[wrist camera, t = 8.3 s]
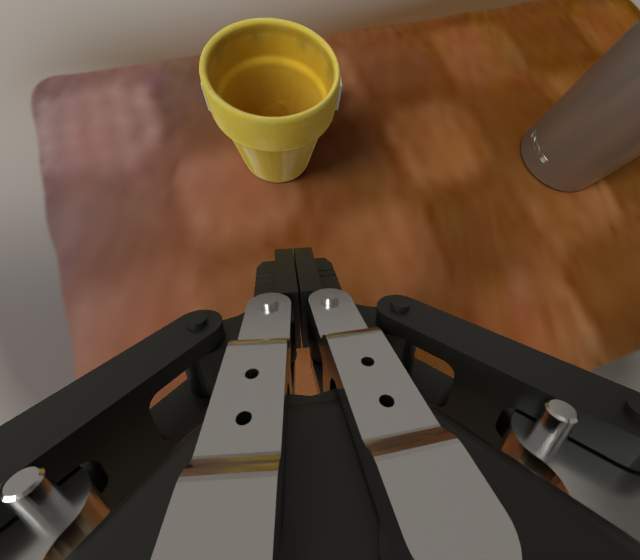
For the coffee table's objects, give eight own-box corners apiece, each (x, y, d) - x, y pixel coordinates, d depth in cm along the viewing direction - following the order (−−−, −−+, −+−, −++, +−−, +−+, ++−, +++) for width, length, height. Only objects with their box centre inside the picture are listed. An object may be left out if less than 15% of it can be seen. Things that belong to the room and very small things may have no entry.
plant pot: (254, 101, 33) (240, -4, 24) (340, 138, 33) (361, 45, 23) (206, 173, 30) (169, 85, 21) (302, 215, 30) (307, 143, 20)
